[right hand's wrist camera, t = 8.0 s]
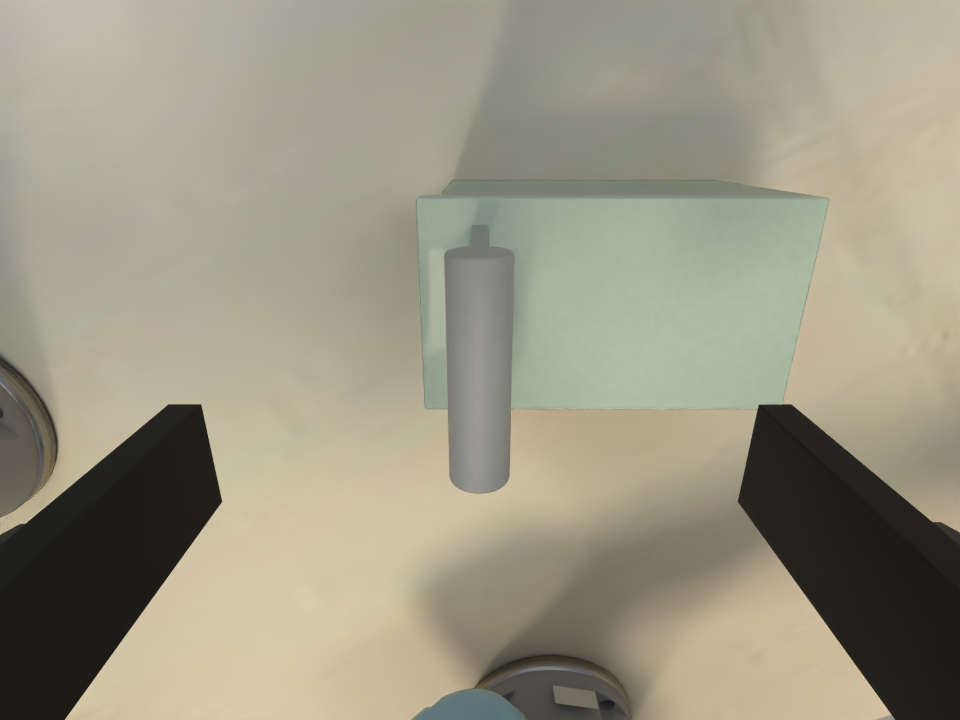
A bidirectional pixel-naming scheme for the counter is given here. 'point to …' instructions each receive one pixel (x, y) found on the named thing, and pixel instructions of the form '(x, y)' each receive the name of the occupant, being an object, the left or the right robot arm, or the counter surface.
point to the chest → (606, 188)
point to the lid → (605, 308)
